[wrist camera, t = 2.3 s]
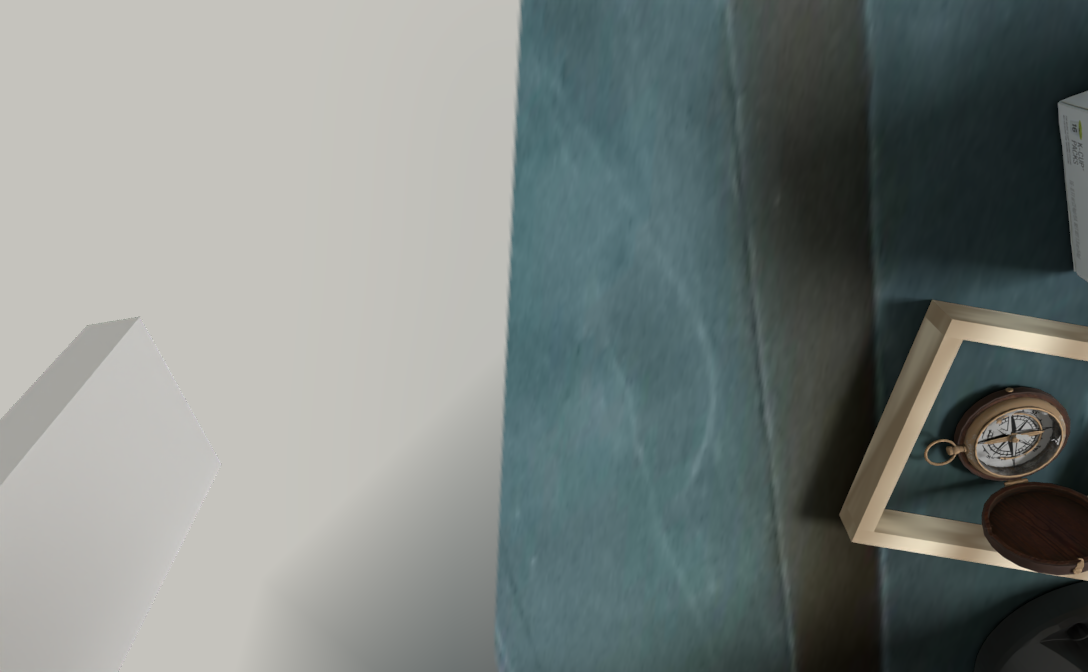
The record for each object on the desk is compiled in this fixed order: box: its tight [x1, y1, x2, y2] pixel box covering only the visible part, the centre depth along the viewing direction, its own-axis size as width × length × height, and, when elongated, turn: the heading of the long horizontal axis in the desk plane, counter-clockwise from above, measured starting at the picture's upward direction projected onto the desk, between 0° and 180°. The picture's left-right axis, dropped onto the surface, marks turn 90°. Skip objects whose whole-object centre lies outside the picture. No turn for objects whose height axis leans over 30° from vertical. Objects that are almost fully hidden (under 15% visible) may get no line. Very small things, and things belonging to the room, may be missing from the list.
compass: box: [924, 387, 1088, 575], centre depth 41 cm, size 8×8×7 cm
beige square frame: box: [839, 300, 1088, 581], centre depth 43 cm, size 15×15×2 cm
